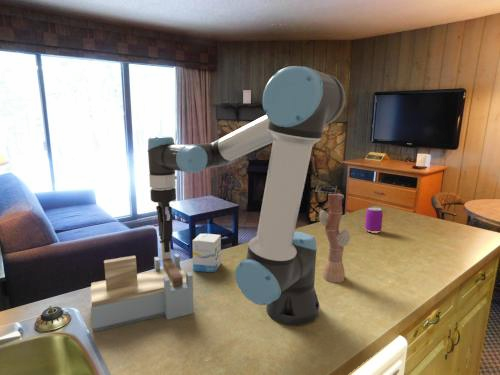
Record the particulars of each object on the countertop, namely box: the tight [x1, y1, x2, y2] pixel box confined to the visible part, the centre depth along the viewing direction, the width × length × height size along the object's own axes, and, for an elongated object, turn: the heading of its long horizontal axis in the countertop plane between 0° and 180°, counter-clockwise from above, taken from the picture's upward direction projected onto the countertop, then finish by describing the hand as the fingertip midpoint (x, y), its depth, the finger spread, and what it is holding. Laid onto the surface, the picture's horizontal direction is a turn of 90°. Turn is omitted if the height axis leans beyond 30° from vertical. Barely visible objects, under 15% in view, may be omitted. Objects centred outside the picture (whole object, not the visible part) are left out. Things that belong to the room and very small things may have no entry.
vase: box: [318, 192, 351, 283], centre depth 113 cm, size 10×7×30 cm
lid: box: [90, 255, 186, 307], centre depth 93 cm, size 11×25×10 cm, turn 116°
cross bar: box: [162, 257, 183, 287], centre depth 97 cm, size 14×2×2 cm, turn 26°
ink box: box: [192, 233, 222, 273], centre depth 122 cm, size 9×8×12 cm
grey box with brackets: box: [90, 253, 195, 333], centre depth 94 cm, size 17×26×12 cm, turn 116°
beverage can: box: [364, 206, 384, 232], centre depth 163 cm, size 8×8×12 cm
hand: (166, 260), depth 104 cm, fingers closed
